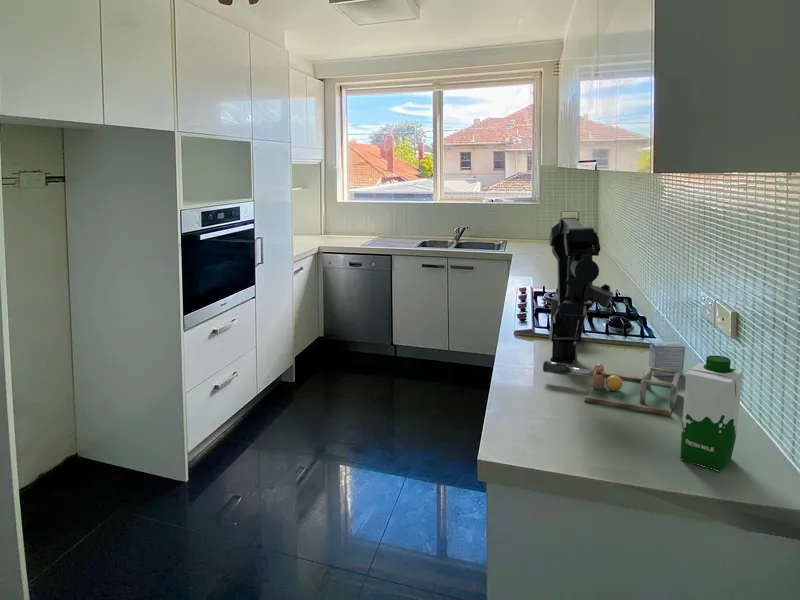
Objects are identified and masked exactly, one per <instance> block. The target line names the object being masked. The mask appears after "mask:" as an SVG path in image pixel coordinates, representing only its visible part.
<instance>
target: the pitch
mask: <svg viewBox="0 0 800 600" xmlns="http://www.w3.org/2000/svg"><path fill="white" fill-rule="evenodd" d="M652 371H659V372H666V373H673V374H675V376H673V380H672V381H664V380H659V379H658V380H657V379H652V377H653V375H652ZM611 375H616V376H618V377H620V378H621V380H622V387H621V389H619V390H617V391H612V390H610V389H608V388H607V386H606V380H607V378H608V377H609V376H611ZM680 378H681V376H680V372H678V371H675V370H668V369H660V368H653V367H649V366H647V368H646V370H645V372H644V374H643V377H638V376H637V377H636V376H629V375H623V374H617V373H610V372H605V385H604V387H603V389H602V390H599V389H593V388H591V390H590V392H589V393H588V395H585V396H584V402H585V403H590V404H595V405H601V406H607V407H613V408H618V409H624V410H630V411H636V412H642V413H647V414H651V415H652V414H653V415H658V416H664V417H671V413H672V410H674V409H675V407H676V404H677V400H678V396H679V391H680V380H681V379H680Z"/></svg>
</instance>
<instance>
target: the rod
mask: <svg viewBox="0 0 800 600" xmlns="http://www.w3.org/2000/svg"><path fill="white" fill-rule="evenodd" d="M542 371H543V372H544V373H550V374H554V375H555V374H556V375H562V376H567V375H568V374H573V375H578V376H579V375H580V376H585V377H586V376H587V377H592V381H591V382H592V383H591V389H599V390H602V389H603V387H604V385H605V373H606V370H605V367H604V365H603V364H602V363H601V364H600V363H597V364H595V365H594V369H593V370H592V369H584V368H578V367H572V366H571V367H570V366H569V363H564V362H557V361H551V360H550V361H549V360H545V361H543V364H542Z"/></svg>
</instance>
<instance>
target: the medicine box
mask: <svg viewBox="0 0 800 600" xmlns="http://www.w3.org/2000/svg"><path fill="white" fill-rule="evenodd" d="M685 354H686V346H685V345H684V344H682V343H681V342H679V341H650V344H649V354H648V355H649V356H648V367H653V368H660V369H668V370H675V371H678V372H680V377H681V376H684V365H685ZM658 376H659V377H660V376H662V377H663V376H664V377H665V376H667V377H669V376H671V377H672V376H673V377H674V376H675V374H673V373H666V372H659V371H652V377H658Z"/></svg>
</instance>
